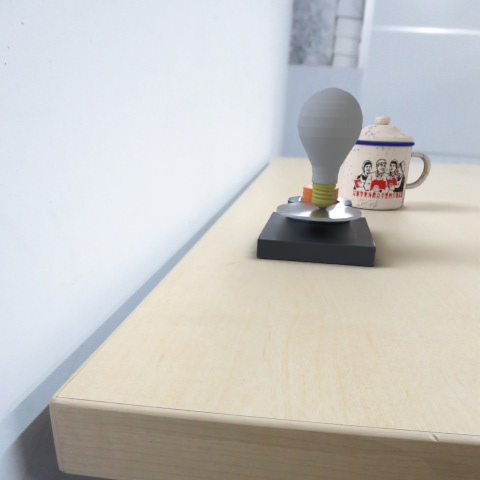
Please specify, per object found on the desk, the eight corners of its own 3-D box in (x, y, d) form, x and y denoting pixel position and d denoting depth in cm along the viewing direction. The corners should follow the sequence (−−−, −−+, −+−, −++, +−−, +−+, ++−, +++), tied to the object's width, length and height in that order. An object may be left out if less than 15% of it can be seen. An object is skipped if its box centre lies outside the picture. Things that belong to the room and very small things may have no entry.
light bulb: (319, 201, 49) (329, 89, 45) (364, 210, 45) (380, 88, 41) (279, 206, 45) (286, 86, 41) (324, 216, 42) (337, 85, 38)
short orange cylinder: (302, 200, 53) (304, 183, 53) (336, 202, 53) (338, 185, 52) (301, 206, 50) (302, 188, 49) (337, 208, 49) (339, 190, 49)
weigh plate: (336, 204, 49) (336, 201, 49) (378, 219, 43) (378, 216, 42) (264, 206, 47) (264, 203, 47) (296, 223, 40) (297, 219, 40)
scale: (273, 224, 56) (274, 193, 55) (362, 230, 55) (366, 198, 53) (256, 258, 43) (258, 218, 42) (373, 266, 42) (379, 225, 40)
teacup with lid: (346, 209, 66) (357, 115, 62) (333, 198, 75) (342, 115, 70) (435, 212, 67) (452, 119, 62) (412, 200, 75) (425, 118, 71)
